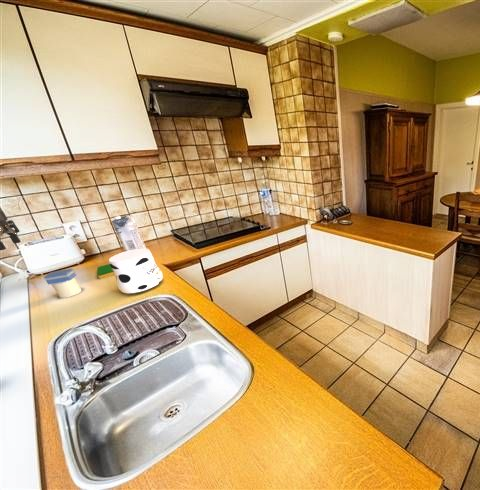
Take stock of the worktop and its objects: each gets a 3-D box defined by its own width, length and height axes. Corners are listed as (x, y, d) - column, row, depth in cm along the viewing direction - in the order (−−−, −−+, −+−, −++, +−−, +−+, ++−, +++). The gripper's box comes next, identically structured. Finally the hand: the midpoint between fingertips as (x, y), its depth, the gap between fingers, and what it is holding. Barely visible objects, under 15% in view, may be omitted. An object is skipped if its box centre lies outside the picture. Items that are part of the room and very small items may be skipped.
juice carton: (149, 251, 173) (132, 212, 163) (145, 257, 165) (128, 216, 154) (132, 255, 170) (114, 215, 159) (128, 261, 161) (108, 219, 150)
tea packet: (48, 284, 123) (43, 276, 121) (55, 279, 127) (50, 272, 126) (70, 280, 126) (66, 273, 124) (76, 275, 130) (72, 268, 128)
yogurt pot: (55, 300, 125) (46, 285, 122) (65, 291, 132) (57, 278, 128) (76, 295, 127) (68, 281, 124) (85, 287, 134) (77, 274, 131)
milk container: (171, 283, 134) (158, 251, 127) (129, 301, 121) (112, 266, 114) (157, 275, 143) (144, 244, 136) (116, 290, 130) (99, 258, 123)
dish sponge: (99, 279, 142) (97, 275, 141) (99, 270, 151) (97, 267, 150) (116, 274, 147) (114, 270, 146) (115, 266, 156) (113, 262, 155)
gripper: (-10, 209, 118) (11, 242, 125) (-41, 217, 106) (-15, 254, 112) (12, 206, 121) (32, 239, 127) (-15, 214, 108) (9, 250, 115)
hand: (10, 246), depth 120 cm, fingers open, 8 cm apart
